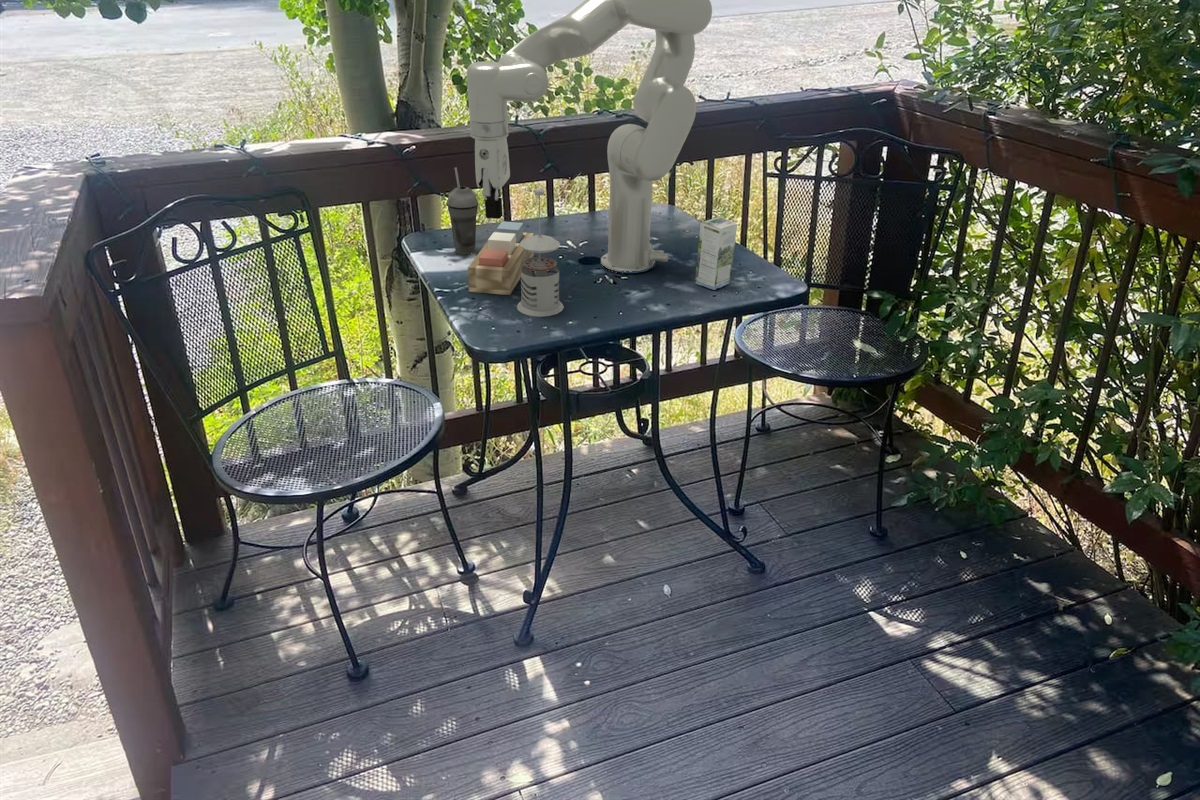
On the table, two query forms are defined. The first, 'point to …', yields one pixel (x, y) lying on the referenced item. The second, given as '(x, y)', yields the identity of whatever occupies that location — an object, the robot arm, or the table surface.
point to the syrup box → (715, 251)
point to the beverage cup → (463, 217)
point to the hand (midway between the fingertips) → (494, 217)
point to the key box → (497, 272)
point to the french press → (539, 275)
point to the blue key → (512, 229)
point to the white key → (502, 242)
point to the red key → (493, 258)
